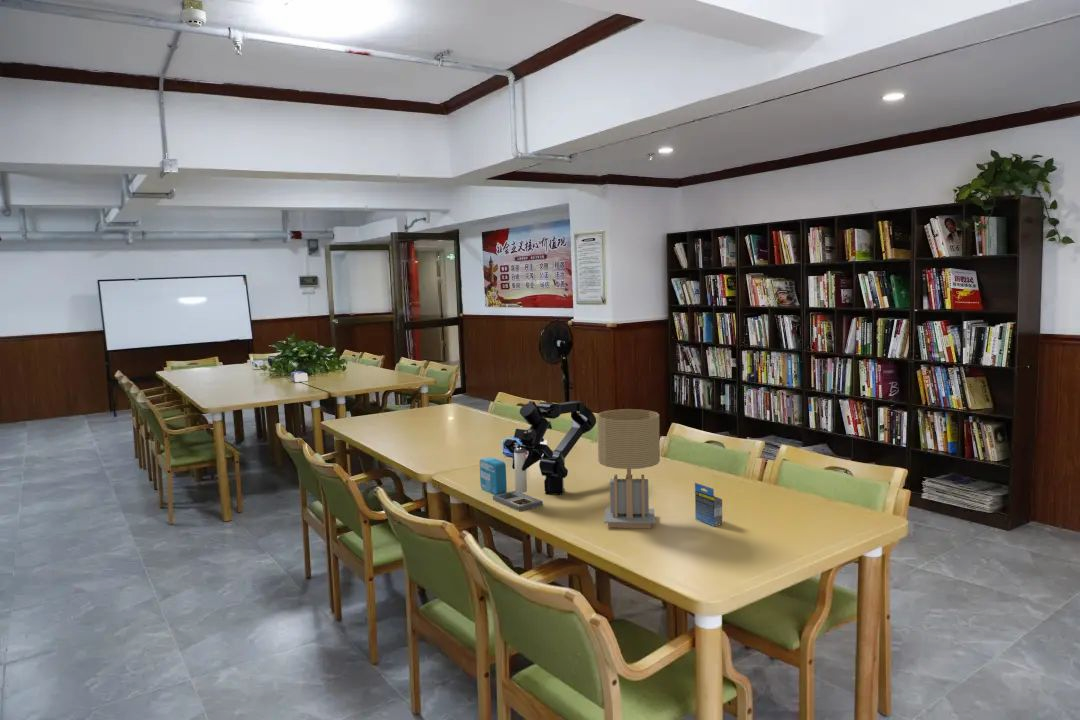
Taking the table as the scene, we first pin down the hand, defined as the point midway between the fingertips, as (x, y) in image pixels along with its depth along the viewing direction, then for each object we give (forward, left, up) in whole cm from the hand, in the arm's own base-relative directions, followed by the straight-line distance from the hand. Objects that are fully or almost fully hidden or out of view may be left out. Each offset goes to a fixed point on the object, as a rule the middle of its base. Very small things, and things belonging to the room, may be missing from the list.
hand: (517, 469), depth 248 cm
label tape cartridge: (-64, +11, -14) cm, 66 cm away
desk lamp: (-39, +13, -14) cm, 43 cm away
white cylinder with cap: (-1, -1, -8) cm, 8 cm away
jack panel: (+2, -5, -13) cm, 14 cm away
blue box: (+14, -18, -14) cm, 27 cm away
